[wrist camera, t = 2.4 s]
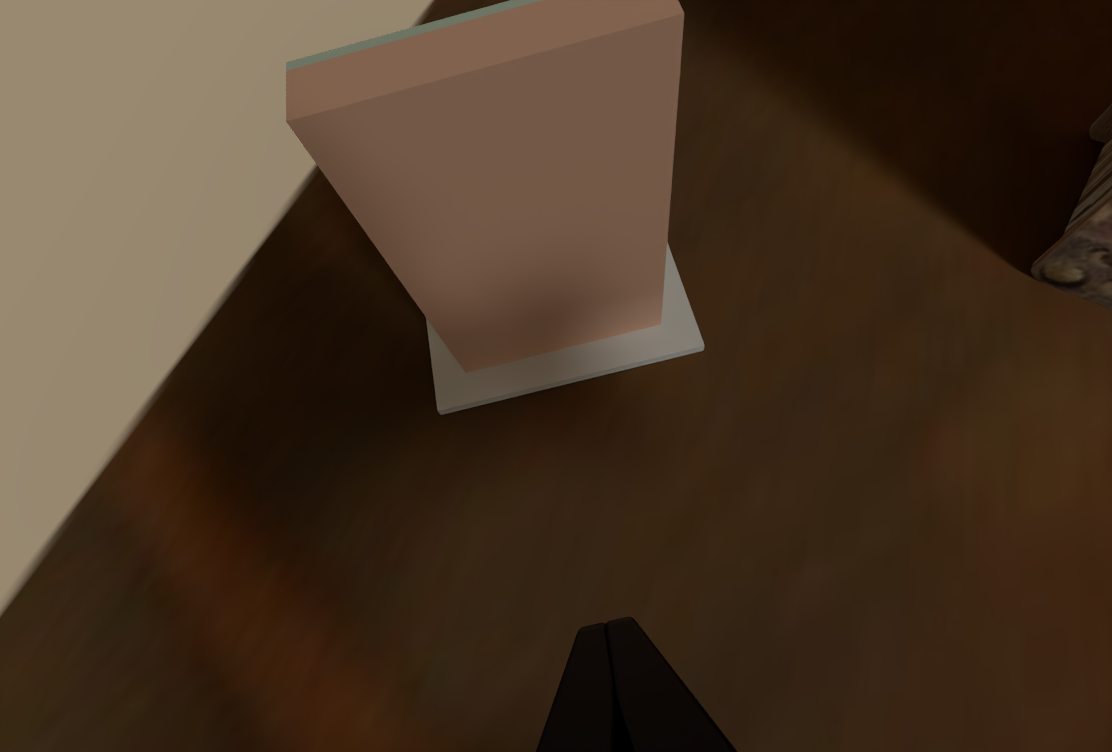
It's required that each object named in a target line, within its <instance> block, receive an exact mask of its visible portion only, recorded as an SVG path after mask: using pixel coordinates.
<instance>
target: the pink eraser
mask: <svg viewBox="0 0 1112 752" xmlns="http://www.w3.org/2000/svg"><path fill="white" fill-rule="evenodd" d="M683 24H684V12H683V9H682V7H681V5H680V3H679V1H678V0H510V1H507V2H503V3H499V4H496V5H492V6H489V7H485V8H481V9H478V10H474V11H470V12H467V13H463V14H460V15H456V16H452V17H449V18H445V19H442V20H438V21H434V22H431V23H427V24H424V25H420V26H416V27H413V28H409V29H406V30H402V31H398V32H395V33H391V34H387V35H384V36H381V37H377V38H373V39H369V40H366V41H362V42H359V43H355V44H352V45H348V46H345V47H341V48H337V49H334V50H330V51H326V52H323V53H319V54H316V55H312V56H308V57H305V58H301V59H297V60H294V61H290V62H287V63H286V121H287V123H288V124H289V126H290V127H291V129H292V130H293V131H294V133H295V134H296V136H297V137H298V138H299V140H300V141H301V143H302V144H303V145H304V147H305V148H306V150H307V151H308V152H309V154H310V155H311V156H312V158H313V159H314V161H315V162H316V164H317V165H318V167H319V168H320V169H321V171H322V172H323V174H324V175H325V176H326V178H327V179H328V181H329V182H330V183H331V185H332V186H333V188H334V189H335V190H336V192H337V193H338V195H339V196H340V197H341V199H342V200H343V202H344V203H345V204H346V206H347V207H348V209H349V210H350V211H351V213H352V214H353V216H354V217H355V218H356V220H357V221H358V223H359V224H360V225H361V227H362V228H363V230H364V231H365V232H366V234H367V235H368V237H369V238H370V239H371V241H372V242H373V244H374V245H375V246H376V248H377V249H378V251H379V252H380V253H381V255H382V256H383V258H384V259H385V260H386V262H387V263H388V265H389V266H390V267H391V269H392V270H393V272H394V273H395V274H396V276H397V277H398V279H399V280H400V281H401V283H402V284H403V286H404V287H405V288H406V290H407V291H408V293H409V294H410V295H411V297H412V298H413V300H414V301H415V302H416V304H417V305H418V307H419V308H420V309H421V311H422V312H423V314H424V315H425V316H426V318H427V319H428V321H429V322H430V323H431V325H432V326H433V328H434V329H435V330H436V332H437V333H438V335H439V336H440V337H441V339H442V340H443V342H444V343H445V344H446V346H447V347H448V349H449V350H450V351H451V353H452V354H453V356H454V357H455V358H456V360H457V361H458V363H459V364H460V365H461V367H462V368H463V370H464V371H465V372H466V373H468V372H472V371H476V370H480V369H484V368H488V367H492V366H496V365H500V364H504V363H508V362H512V361H516V360H520V359H524V358H528V357H532V356H536V355H540V354H544V353H548V352H552V351H556V350H560V349H564V348H568V347H573V346H577V345H581V344H585V343H589V342H593V341H597V340H601V339H605V338H609V337H613V336H617V335H621V334H625V333H629V332H633V331H637V330H641V329H645V328H649V327H653V326H657V325H661V318H662V304H663V291H664V278H665V264H666V251H667V237H668V224H669V211H670V197H671V184H672V171H673V157H674V144H675V131H676V117H677V104H678V90H679V77H680V64H681V50H682V37H683Z"/></svg>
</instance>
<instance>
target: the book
mask: <svg viewBox="0 0 1112 752" xmlns="http://www.w3.org/2000/svg"><path fill="white" fill-rule="evenodd" d="M1089 134H1090V139H1093V140H1096V141H1100V142H1103V143H1105V144H1104V147H1103V149H1102V151H1101V153H1100V155H1099V157H1098V160H1097V162H1096V164H1095V166H1094V168H1093V171H1092V173H1091V175H1090V177H1089V179H1088V181H1087V184H1086V186H1085V188H1084V190H1083V192H1082V195H1081V197H1080V199H1079V201H1078V203H1077V206H1076V208H1075V210H1074V212H1073V214H1072V216H1071V219H1070V221H1069V223H1068V225H1067V227H1066V230H1065V232H1064V234H1063V236H1062V238H1061V239H1060V240H1058V241H1057V242H1056V243H1055V244H1054V245H1053V246H1052V247H1051V248H1049V249H1048V250H1047V251H1046V252H1045V253H1044V254H1043V255H1042V256H1041V257H1039V258H1038V259H1037V260H1036V261H1035V262H1034V263H1033V266H1032V268H1031V274H1032V276H1033V277H1034V278H1036V279H1037V280H1038V281H1040V282H1042V283H1045V284H1047V285H1050V286H1053V287H1055V288H1058V289H1061V290H1063V291H1066V292H1069V293H1071V294H1074V295H1076V296H1079V297H1082V298H1084V299H1087V300H1090V301H1092V302H1095V303H1098V304H1100V305H1103V306H1105V307H1108V308H1111V309H1112V104H1111V105H1110V106H1109V107H1108V108H1107V109H1106V110H1105V111H1104V112H1103V113H1102V114H1101V115H1100V116H1099V117H1098V119H1097V120H1096V121H1095V122H1094V123H1093V124H1092V125H1091V127H1090V129H1089Z"/></svg>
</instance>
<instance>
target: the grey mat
mask: <svg viewBox="0 0 1112 752" xmlns="http://www.w3.org/2000/svg"><path fill="white" fill-rule="evenodd" d="M426 322H427V330H428V338H429V346H430V354H431V362H432V370H433V379H434V387H435V395H436V403H437V411H438V412H439V413H440V414H441V415H443V414H447V413H451V412H455V411H459V410H463V409H467V408H472V407H476V406H480V405H484V404H488V403H492V402H496V401H500V400H504V399H508V398H512V397H516V396H520V395H524V394H529V393H533V392H537V391H541V390H545V389H549V388H553V387H557V386H561V385H565V384H569V383H573V382H577V381H581V380H585V379H590V378H594V377H598V376H602V375H606V374H610V373H614V372H618V371H622V370H626V369H630V368H634V367H638V366H642V365H647V364H651V363H655V362H659V361H663V360H667V359H671V358H675V357H679V356H683V355H687V354H691V353H695V352H699V351H703V350H704V343H703V340H702V337H701V335H700V332H699V329H698V326H697V323H696V321H695V318H694V315H693V312H692V310H691V307H690V304H689V301H688V298H687V296H686V293H685V290H684V287H683V285H682V282H681V279H680V276H679V273H678V271H677V268H676V265H675V262H674V260H673V257H672V254H671V251H670V249H669V246H668V243H667V251H666V264H665V278H664V291H663V304H662V318H661V325H657V326H653V327H649V328H645V329H641V330H637V331H633V332H629V333H625V334H621V335H617V336H613V337H609V338H605V339H601V340H597V341H593V342H589V343H585V344H581V345H577V346H573V347H568V348H564V349H560V350H556V351H552V352H548V353H544V354H540V355H536V356H532V357H528V358H524V359H520V360H516V361H512V362H508V363H504V364H500V365H496V366H492V367H488V368H484V369H480V370H476V371H472V372H468V373H466V372H465V371H464V370H463V368H462V367H461V365H460V364H459V363H458V361H457V360H456V358H455V357H454V356H453V354H452V353H451V351H450V350H449V349H448V347H447V346H446V344H445V343H444V342H443V340H442V339H441V337H440V336H439V335H438V333H437V332H436V330H435V329H434V328H433V326H432V325H431V323H430V322H429V321H428V319H427V318H426Z"/></svg>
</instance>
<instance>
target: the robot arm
mask: <svg viewBox="0 0 1112 752" xmlns="http://www.w3.org/2000/svg"><path fill="white" fill-rule="evenodd" d="M536 752H737V751H736V749H735V748H734V747H733V745H732V744H731V743H730V742H729V740H728V739H727V738H726V736H725V735H724V734H723V733H722V731H721V730H720V729H719V727H718V726H717V725H716V724H715V722H714V721H713V720H712V718H711V717H710V716H709V715H708V713H707V712H706V711H705V709H704V708H703V707H702V706H701V704H700V703H699V702H698V700H697V699H696V698H695V697H694V695H693V694H692V693H691V691H690V690H689V689H688V688H687V686H686V685H685V684H684V682H683V681H682V680H681V679H680V677H679V676H678V675H677V673H676V672H675V671H674V670H673V668H672V667H671V666H670V664H669V663H668V662H667V661H666V659H665V658H664V657H663V655H662V654H661V653H660V652H659V650H658V649H657V648H656V646H655V645H654V644H653V643H652V641H651V640H650V639H649V637H648V636H647V635H646V634H645V632H644V631H643V630H642V628H641V627H640V626H639V625H638V623H637V622H636V621H635V620H634V619H633V618H632V617H625V618H620V619H616V620H612V621H608V622H607V623H606V624H605V623H598V624H594V625H590V626H585V627H582V628H580V629H579V631H578V633H577V635H576V638H575V641H574V644H573V647H572V650H571V653H570V655H569V658H568V661H567V664H566V667H565V670H564V673H563V676H562V678H561V681H560V684H559V687H558V690H557V693H556V696H555V699H554V701H553V704H552V707H551V710H550V713H549V716H548V719H547V722H546V724H545V727H544V730H543V733H542V736H541V739H540V742H539V744H538V747H537V750H536Z"/></svg>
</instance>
